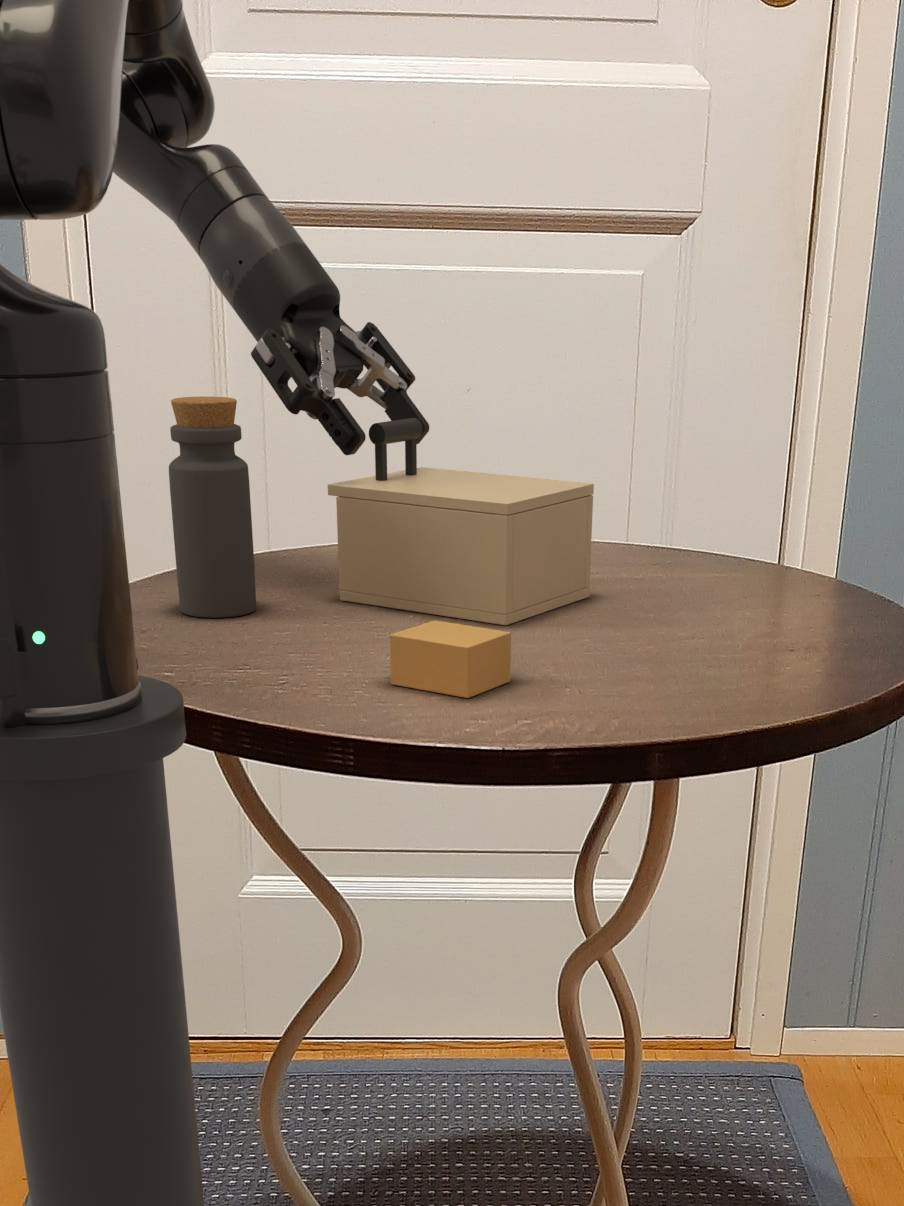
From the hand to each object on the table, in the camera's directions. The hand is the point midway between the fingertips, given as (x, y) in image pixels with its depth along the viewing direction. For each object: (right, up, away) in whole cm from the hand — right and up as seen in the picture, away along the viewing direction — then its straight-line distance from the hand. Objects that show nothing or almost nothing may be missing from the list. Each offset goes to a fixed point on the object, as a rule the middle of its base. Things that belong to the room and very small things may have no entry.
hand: (390, 442), depth 119 cm
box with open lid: (+6, -12, +2) cm, 13 cm away
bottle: (-13, -14, -2) cm, 19 cm away
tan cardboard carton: (+5, -24, -21) cm, 32 cm away
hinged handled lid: (+6, -5, -2) cm, 7 cm away
